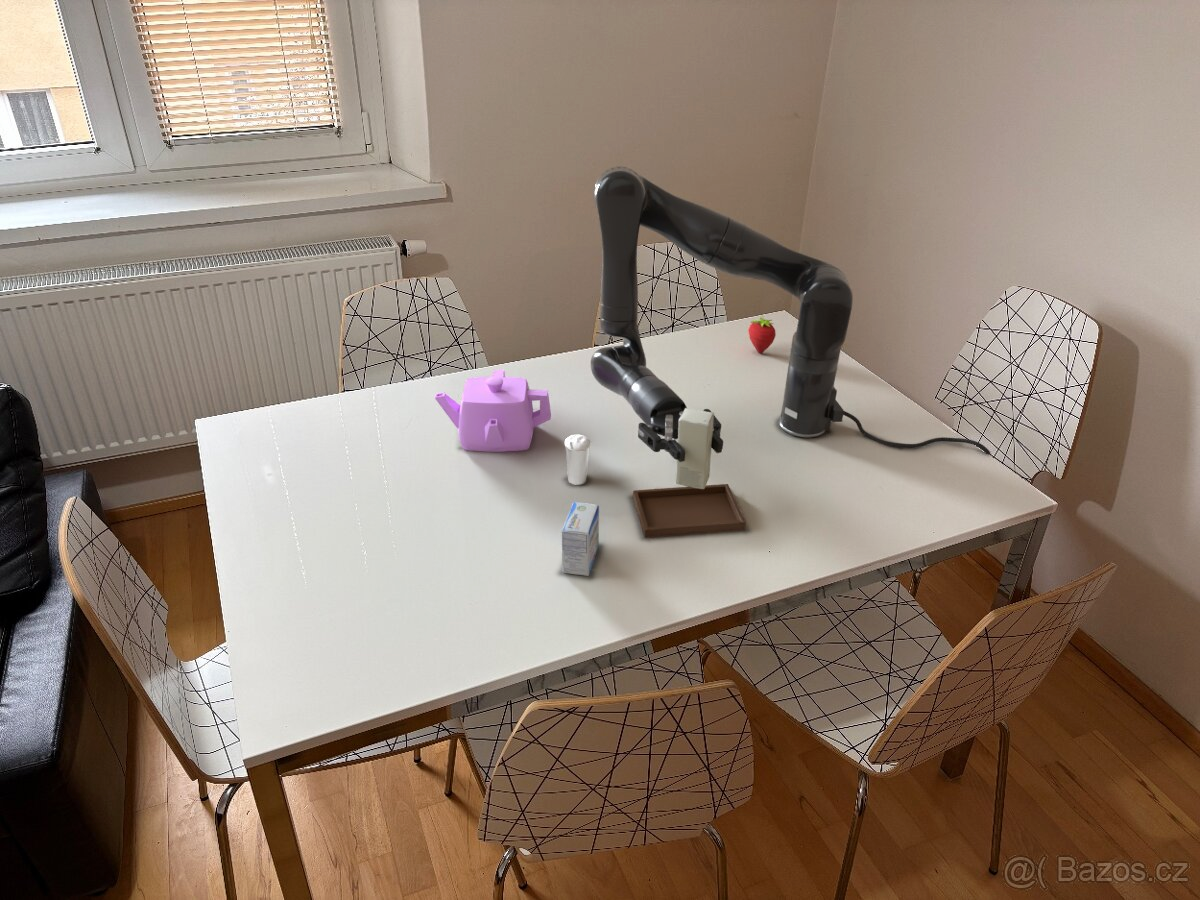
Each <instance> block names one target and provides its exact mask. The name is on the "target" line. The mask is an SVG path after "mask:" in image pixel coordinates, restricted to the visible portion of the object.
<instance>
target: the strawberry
mask: <svg viewBox="0 0 1200 900" xmlns="http://www.w3.org/2000/svg"><path fill="white" fill-rule="evenodd" d="M760 315H761V317H759V320H754V319H753V320H751V321H750V324H749V328H748V336H749V341H750V342H751V344H752V346H753V348H754V349H755V350H756V352H757V354H759V355H760V354H763V353H764V352H765V351H766V350H768V349H769V347H771V345H772V344H773V343H774V341H775V338H776V336H777V333H776V329H775V327H774V326H773V325H774V323H773V322H772V321H773V319H765V318H764V315H763V314H762V313H760Z"/></svg>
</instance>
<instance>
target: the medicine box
mask: <svg viewBox="0 0 1200 900" xmlns="http://www.w3.org/2000/svg"><path fill="white" fill-rule="evenodd" d="M560 537H561V538H560V539H561V571H562V573H563V574H564V573H565V574H569V575H570V574H571V575H578V576H585V577H589V576H590V575H591V574H590V573H591V570H592V567H593V564H594V561H595V558H596V555H597V552H598V549H599V545H600V543H599V542H600V540H599V539H600V505H598V504H595V503H587V502H580V501H579V502H578V501H573V502H572V504H571V507H570V511H569V513H568V515H567V517H566V519H565V522H564V525H563V527H562V530H561V535H560Z"/></svg>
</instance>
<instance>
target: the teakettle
mask: <svg viewBox="0 0 1200 900" xmlns="http://www.w3.org/2000/svg"><path fill="white" fill-rule="evenodd" d="M434 399H435V401H436V403H438V405H439V406H440V407H441V409H442V410H443V411H444V413H445V414H446V416H447V418H449V419H450V421H451V422H452V424H453V425H454V426H455V428H456V429H458V440H459V443H460V446H461V448H462V450H465V451H469V452H471V451H472V452H487V453H492V452H493V453H504V452H505V453H506V452H521V451H526V450H529V449H530V446H531V444H532V440H533V435H534V434H533V433H534V429H535V428H536V427H538V426H540V425H543V424H544V423H546V422H549V421H551V419H552V409H551V404H550V395H549V390H548V389H530V386H529V383H528V380H527V378H524V377H518V376H506V372H505V369H493V371H492V375H491V376H474V377H468V378H466V381H465V383H464V387H463V391H462V396H461V402H460V404H459V403H458V402H457V401H455V400H454V399H453V398H452V397H450V396H449V395H447V393H446V392H437V393H435V395H434ZM533 401H539V409H538V410H535V411H534V405H533Z"/></svg>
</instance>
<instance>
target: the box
mask: <svg viewBox="0 0 1200 900" xmlns="http://www.w3.org/2000/svg"><path fill="white" fill-rule="evenodd" d="M714 416H715V414H714V412H712V411H711V412H706V411H703V410H700V409H693V408H688V407H687V408H685V410H684V411H683V413H682V415H681V416H680V418H679V428H678V439H677V442H678V443H679V444H680V446H681V447H682V448H683V449H684V450H685V461H683V462H679V461H678V460H676V473H675V474H676V475H675V484H676V485H679V486H682V487H693V488H699V489H705V486H706V485H708V481H709V480H710V476H711V475H710V474H711V473H710V472H711V461H712V460H711V459H712V448H711V447H712V433H713V418H714Z"/></svg>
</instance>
